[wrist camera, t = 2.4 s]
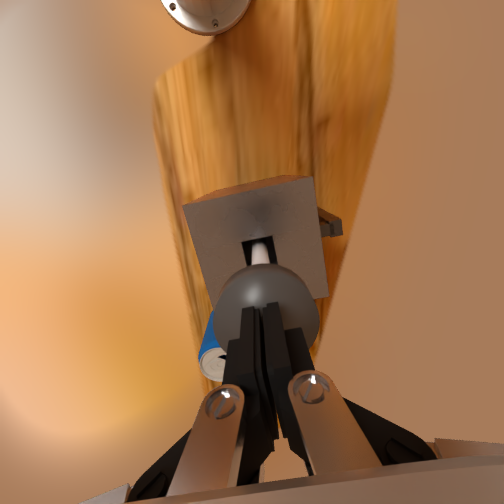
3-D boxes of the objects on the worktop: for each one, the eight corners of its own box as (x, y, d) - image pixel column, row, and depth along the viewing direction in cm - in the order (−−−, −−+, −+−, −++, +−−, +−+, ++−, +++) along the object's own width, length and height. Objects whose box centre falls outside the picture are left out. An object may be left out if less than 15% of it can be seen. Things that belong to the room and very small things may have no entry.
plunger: (212, 203, 29) (142, 255, 11) (288, 186, 29) (353, 210, 10) (230, 272, 32) (199, 411, 13) (300, 258, 31) (370, 383, 13)
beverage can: (251, 323, 46) (251, 373, 35) (221, 337, 47) (211, 390, 36) (234, 296, 44) (228, 338, 33) (203, 311, 45) (187, 357, 34)
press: (215, 190, 39) (182, 205, 21) (302, 170, 38) (347, 168, 20) (231, 255, 42) (215, 317, 24) (312, 239, 41) (359, 290, 23)
